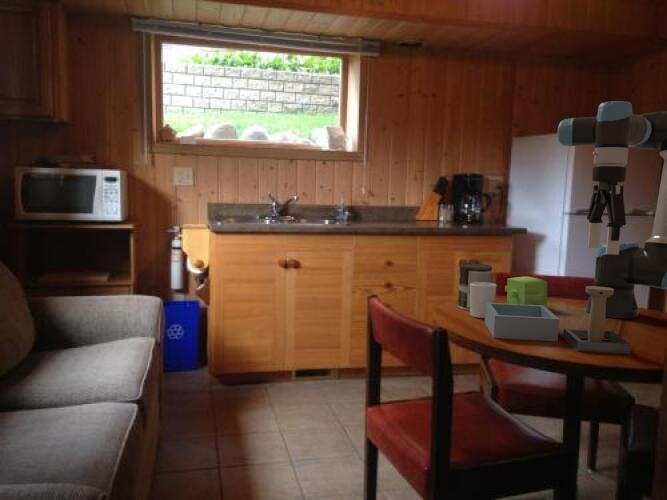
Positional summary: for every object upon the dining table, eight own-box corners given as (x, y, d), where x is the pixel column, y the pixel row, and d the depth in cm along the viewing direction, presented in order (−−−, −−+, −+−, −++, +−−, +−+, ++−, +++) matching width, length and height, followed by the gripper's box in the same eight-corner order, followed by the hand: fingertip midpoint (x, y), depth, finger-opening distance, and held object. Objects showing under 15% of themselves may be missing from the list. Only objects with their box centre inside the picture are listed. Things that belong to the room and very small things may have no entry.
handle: (610, 349, 142) (615, 290, 141) (582, 346, 144) (587, 288, 142) (606, 344, 147) (611, 287, 145) (580, 341, 149) (584, 285, 147)
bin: (542, 325, 165) (543, 305, 164) (557, 341, 148) (559, 319, 148) (484, 322, 167) (485, 302, 166) (493, 337, 150) (494, 315, 150)
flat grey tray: (611, 340, 151) (612, 331, 151) (629, 354, 139) (630, 344, 139) (563, 337, 152) (563, 328, 152) (577, 351, 140) (578, 341, 140)
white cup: (491, 313, 179) (493, 282, 177) (496, 319, 171) (498, 286, 170) (466, 312, 179) (468, 281, 178) (470, 318, 172) (471, 285, 170)
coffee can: (451, 307, 185) (454, 265, 184) (466, 302, 193) (468, 262, 192) (481, 313, 179) (483, 269, 177) (494, 307, 187) (497, 265, 185)
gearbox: (495, 302, 198) (495, 275, 197) (520, 300, 201) (520, 273, 200) (525, 313, 181) (525, 284, 180) (552, 310, 184) (552, 281, 183)
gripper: (578, 166, 153) (572, 244, 155) (612, 163, 128) (603, 256, 131) (607, 167, 152) (600, 246, 155) (647, 164, 127) (638, 257, 130)
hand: (602, 251), depth 143 cm, fingers open, 13 cm apart
